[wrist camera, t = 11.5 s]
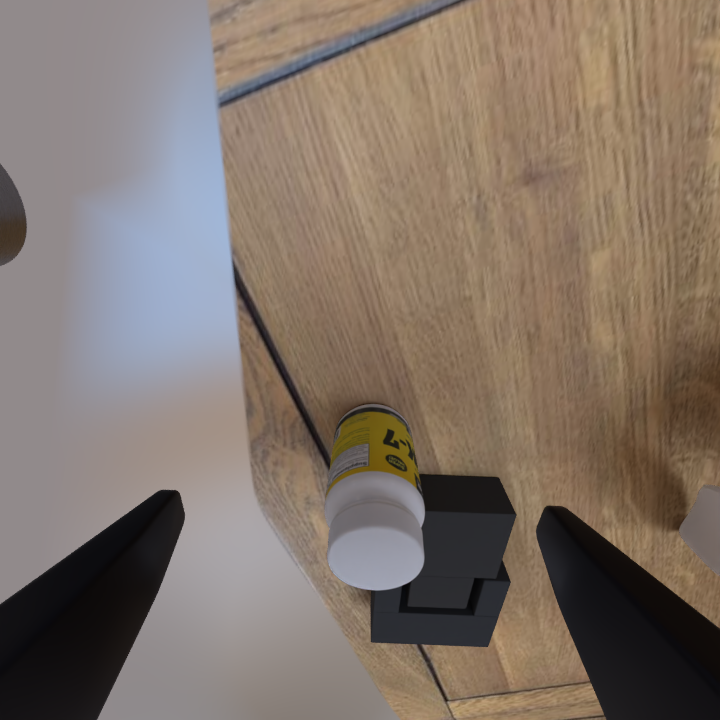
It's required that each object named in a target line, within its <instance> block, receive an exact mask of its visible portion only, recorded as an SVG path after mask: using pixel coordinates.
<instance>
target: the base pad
mask: <svg viewBox="0 0 720 720" xmlns="http://www.w3.org/2000/svg"><path fill="white" fill-rule="evenodd" d="M510 583H511V582H510V579H509V576H508V573H507V571H506V568H505V566H504V563H503V560H502V561H501V564H500V567H499V571H498V574H497V577H496V579H493V578H474V582H473V585H472V589H471V592H470V596H469V599H468V603H467V607H466V608H465V609H460V608H435V607H410V606H407V600H406V590H405V584H404V585H402V586H400V587H397V588H393V589H388V590H371V642H375V643H400V644H424V645H449V646H474V647H488V645H489V642H490V640H491V637H492V634H493V631H494V628H495V626H496V623H497V620H498V616H499V614H500V611H501V608H502V605H503V602H504V600H505V597H506V594H507V591H508V588H509V586H510Z"/></svg>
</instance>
